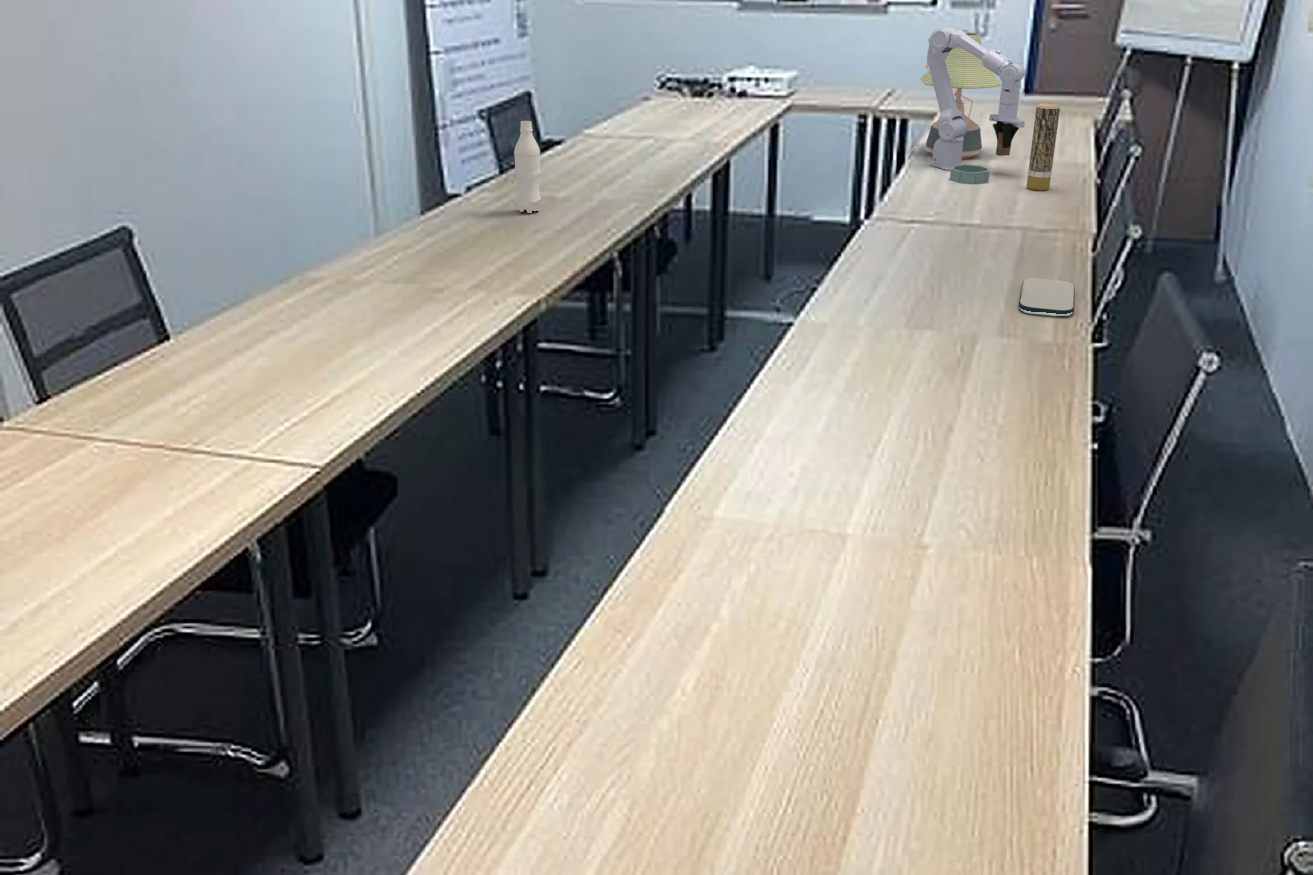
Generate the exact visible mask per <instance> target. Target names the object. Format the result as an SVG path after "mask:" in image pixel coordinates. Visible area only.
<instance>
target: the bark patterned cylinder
mask: <svg viewBox="0 0 1313 875" xmlns="http://www.w3.org/2000/svg"><path fill="white" fill-rule="evenodd" d="M1060 112H1061V105H1060V104H1056V103H1055V104H1054V103H1037V104H1036V108H1035V117H1034V122H1033V131H1032V138H1031V146H1030V147H1031V148H1030V155H1029V162H1028V163H1029V164H1028V170H1027V179H1026V188H1027V189H1028V190H1031V191H1041V192H1043V191H1047V190H1049V189H1050V187H1051V186H1050V185H1051V180H1052V179H1051V178H1052V172H1053V164H1054V159H1055V158H1054V157H1055V156H1054V155H1055V151H1056V150H1055V148H1056V142H1057V135H1058V134H1057V133H1058V126H1059V119H1060Z"/></svg>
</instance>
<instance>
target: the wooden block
mask: <svg viewBox="0 0 1313 875" xmlns="http://www.w3.org/2000/svg"><path fill="white" fill-rule="evenodd" d="M1011 147H1012V144H1011V145H1010V147H1009V148H1003V132H999V134H998V141H997V140H996V149H995V150H996V151H995V155H996V156H999V157H1003V156H1010V155H1011V149H1012V148H1011Z"/></svg>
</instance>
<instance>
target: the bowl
mask: <svg viewBox="0 0 1313 875" xmlns="http://www.w3.org/2000/svg"><path fill="white" fill-rule="evenodd" d="M949 173H950V174H949V181H952V182H956V183H958V184H970V185H971V184H972V185H978V184H988V182H989V181H990V175H991V174H990V173H991V168H990V167H987V166H983V165H980V164H979V165H975V164H961V165H956V166H952V168H951V170H950V172H949Z"/></svg>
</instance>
